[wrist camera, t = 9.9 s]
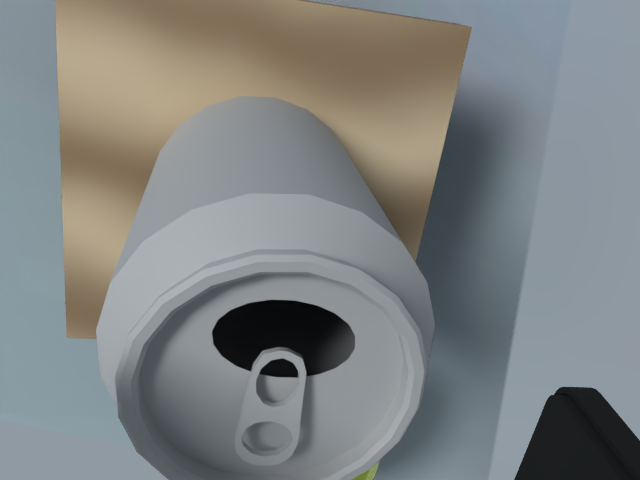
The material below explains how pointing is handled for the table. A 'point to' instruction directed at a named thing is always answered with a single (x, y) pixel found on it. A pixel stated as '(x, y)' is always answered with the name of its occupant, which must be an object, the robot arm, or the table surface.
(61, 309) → the table surface
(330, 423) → the can
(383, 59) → the stool
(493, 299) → the table surface
